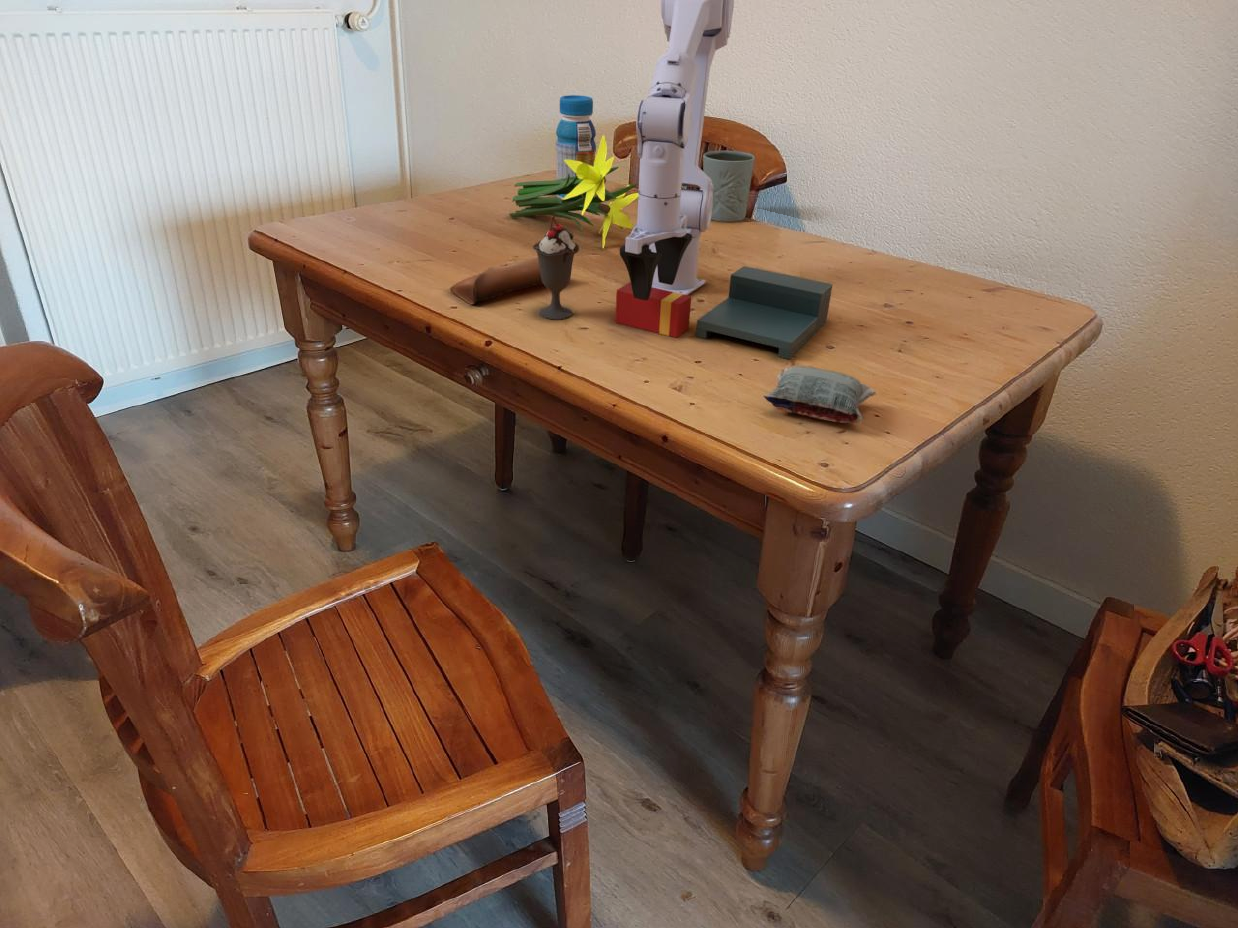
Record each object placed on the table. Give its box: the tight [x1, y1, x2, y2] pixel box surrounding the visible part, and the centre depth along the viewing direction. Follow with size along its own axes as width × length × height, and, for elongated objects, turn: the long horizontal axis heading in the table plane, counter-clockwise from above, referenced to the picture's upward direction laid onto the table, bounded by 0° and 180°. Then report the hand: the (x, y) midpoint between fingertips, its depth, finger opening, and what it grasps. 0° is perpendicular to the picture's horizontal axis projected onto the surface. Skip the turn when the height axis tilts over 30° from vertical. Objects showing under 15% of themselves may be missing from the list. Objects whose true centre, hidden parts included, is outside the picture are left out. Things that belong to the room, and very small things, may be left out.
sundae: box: [531, 216, 580, 321], centre depth 125 cm, size 7×7×15 cm
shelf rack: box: [695, 265, 833, 360], centre depth 125 cm, size 14×16×6 cm
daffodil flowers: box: [509, 134, 639, 249], centre depth 160 cm, size 17×15×35 cm
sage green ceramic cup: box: [702, 150, 756, 223], centre depth 175 cm, size 10×10×12 cm
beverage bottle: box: [554, 94, 597, 200], centre depth 181 cm, size 8×8×20 cm
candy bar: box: [615, 281, 692, 338], centre depth 125 cm, size 10×4×5 cm, turn 60°
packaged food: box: [763, 365, 877, 424], centre depth 104 cm, size 9×12×5 cm
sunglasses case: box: [449, 257, 544, 306], centre depth 137 cm, size 18×7×7 cm, turn 132°
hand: (653, 290), depth 124 cm, fingers open, 7 cm apart
